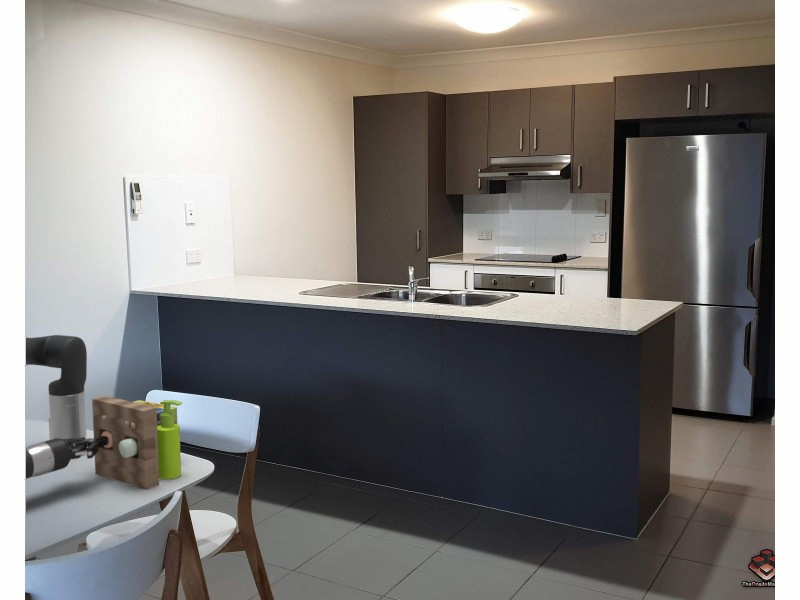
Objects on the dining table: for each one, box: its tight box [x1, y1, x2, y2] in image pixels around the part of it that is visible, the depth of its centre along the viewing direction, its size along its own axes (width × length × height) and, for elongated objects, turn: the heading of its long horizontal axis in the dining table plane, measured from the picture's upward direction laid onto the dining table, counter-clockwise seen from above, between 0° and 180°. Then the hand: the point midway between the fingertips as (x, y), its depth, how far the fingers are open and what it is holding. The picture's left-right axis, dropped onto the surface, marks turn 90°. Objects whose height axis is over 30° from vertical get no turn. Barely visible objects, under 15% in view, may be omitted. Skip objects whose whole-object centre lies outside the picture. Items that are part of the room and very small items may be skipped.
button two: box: [119, 437, 138, 458], centre depth 190 cm, size 4×3×4 cm
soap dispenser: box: [157, 399, 183, 481], centre depth 198 cm, size 6×7×20 cm
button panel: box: [91, 395, 160, 490], centre depth 195 cm, size 20×4×20 cm, turn 57°
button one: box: [101, 431, 113, 448], centre depth 197 cm, size 4×3×4 cm
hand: (106, 439), depth 196 cm, fingers closed
